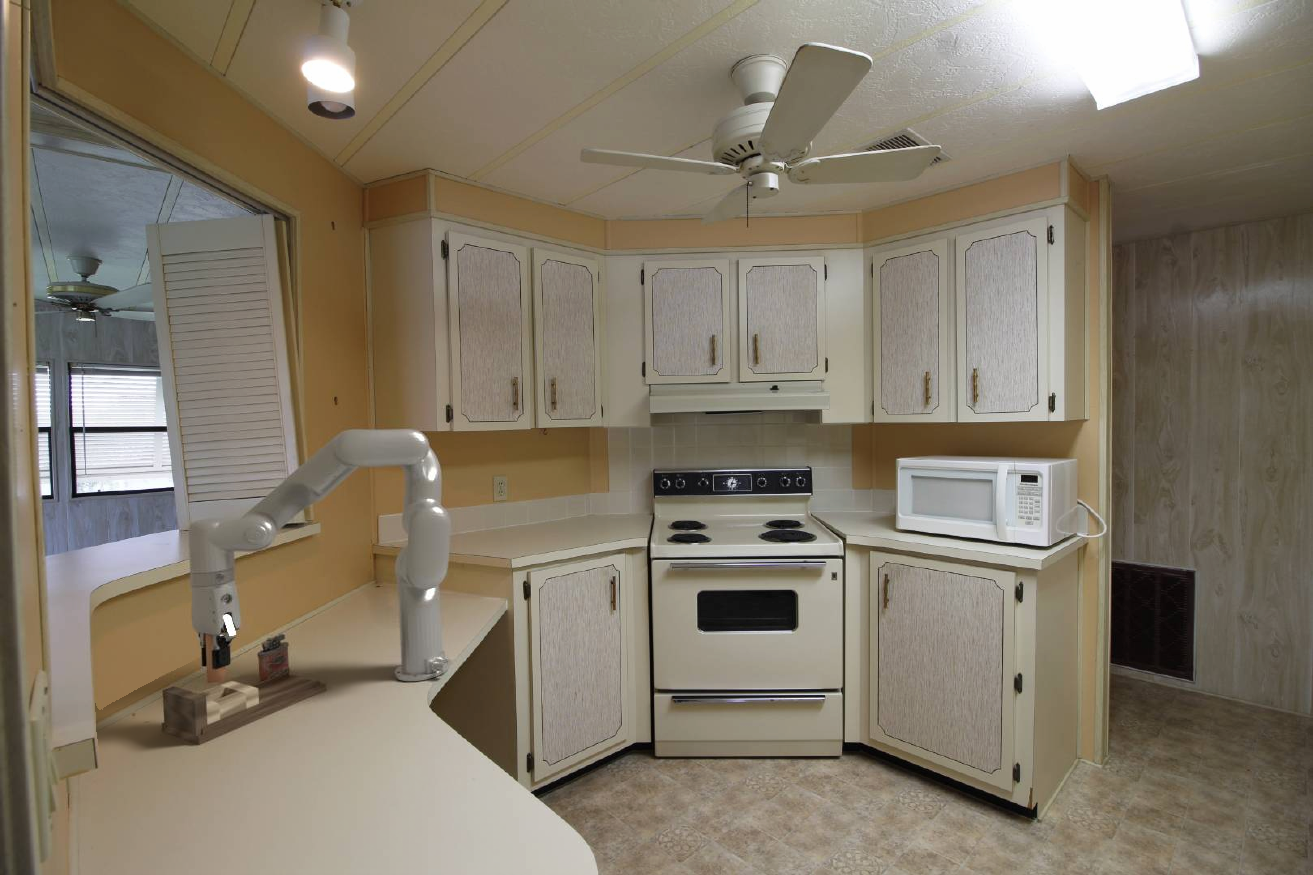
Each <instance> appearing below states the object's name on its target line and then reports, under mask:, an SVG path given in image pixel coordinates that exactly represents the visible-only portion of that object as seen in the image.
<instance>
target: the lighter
mask: <svg viewBox="0 0 1313 875" xmlns="http://www.w3.org/2000/svg"><path fill="white" fill-rule="evenodd" d="M285 639H286V635H285V634H284V633H280V634H279V635H278V634H277V635H276V636H274V637H268V638H267V639H266V640H265V641H264V642H262V643H261V648H262V650H260V651H258V652H257V654H256V655H257V658H258V677H259V679H258V683H259V682H262V681H265V680H267V679H270V678H272V677H275V676H278V675H280V674H283V673H285V672H288V673H289V674H290V673H291V668H290V667H289V666H290V665H289V662H290V661H289V642H288V641H287V642H286V641H284V640H285ZM281 641H283V642H281Z"/></svg>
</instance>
